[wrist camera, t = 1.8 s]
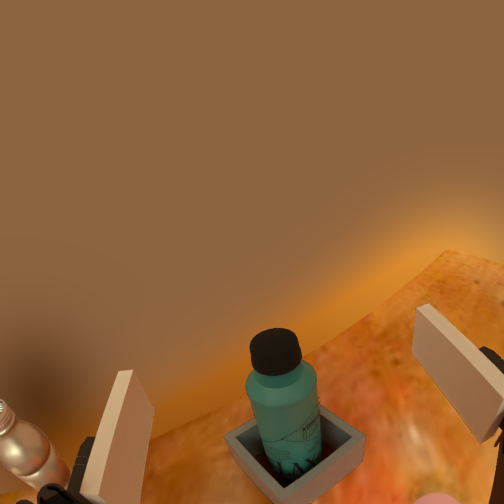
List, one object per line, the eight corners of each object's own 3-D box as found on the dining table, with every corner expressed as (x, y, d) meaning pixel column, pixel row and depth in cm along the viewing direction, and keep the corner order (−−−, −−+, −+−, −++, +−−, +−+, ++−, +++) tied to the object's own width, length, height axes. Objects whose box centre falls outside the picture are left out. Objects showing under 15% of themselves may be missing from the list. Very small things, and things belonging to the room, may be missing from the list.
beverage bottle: (263, 482, 29) (217, 364, 22) (278, 440, 35) (247, 315, 28) (318, 489, 27) (304, 371, 20) (329, 445, 33) (319, 316, 26)
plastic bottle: (126, 511, 26) (25, 407, 19) (93, 541, 20) (-25, 445, 14) (97, 486, 29) (7, 381, 22) (66, 512, 24) (-35, 412, 17)
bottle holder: (362, 461, 29) (365, 435, 27) (288, 518, 24) (281, 500, 22) (303, 417, 38) (299, 388, 36) (235, 461, 33) (223, 435, 31)
